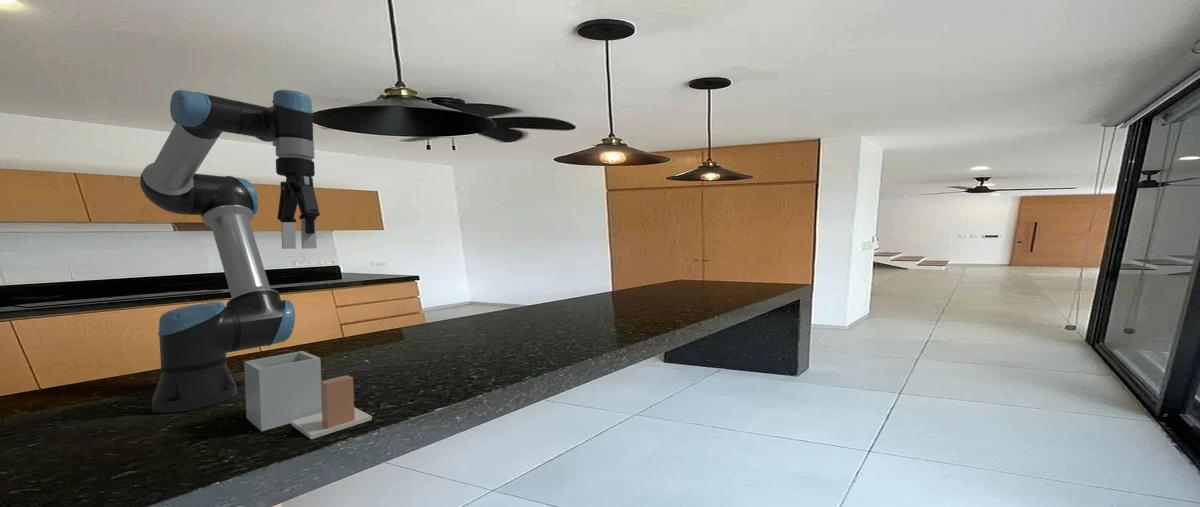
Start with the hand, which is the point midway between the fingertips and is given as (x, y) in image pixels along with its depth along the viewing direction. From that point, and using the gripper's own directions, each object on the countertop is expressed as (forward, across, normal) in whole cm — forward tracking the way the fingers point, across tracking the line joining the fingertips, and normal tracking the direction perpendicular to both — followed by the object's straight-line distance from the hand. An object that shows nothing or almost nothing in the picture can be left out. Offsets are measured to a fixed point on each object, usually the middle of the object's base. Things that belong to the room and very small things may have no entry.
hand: (298, 248), depth 104 cm
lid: (+37, +19, -1) cm, 42 cm away
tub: (+37, +7, -6) cm, 38 cm away
